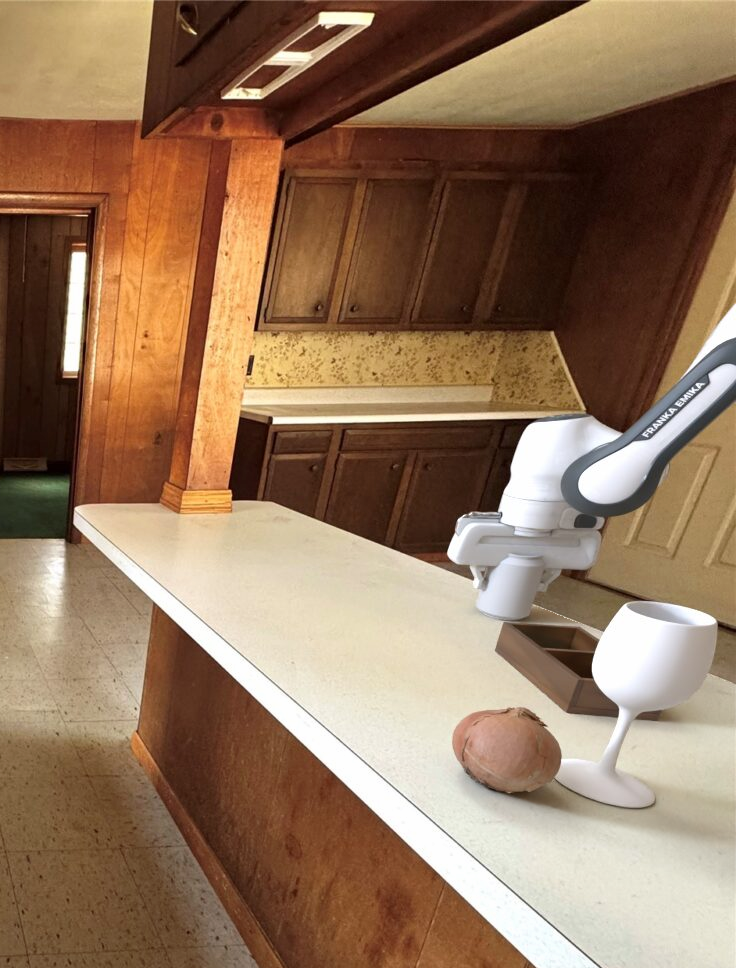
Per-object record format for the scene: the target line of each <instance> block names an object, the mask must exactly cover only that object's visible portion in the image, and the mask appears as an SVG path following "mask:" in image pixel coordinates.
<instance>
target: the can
mask: <svg viewBox="0 0 736 968" xmlns="http://www.w3.org/2000/svg"><path fill="white" fill-rule="evenodd" d="M508 555H509V557H508V558H507V559H505V560H503V561H501V563H500V565H499V566H486V568H485V571H484V574H483V577H484V578H485V579H487V580H489V583H488V585H487V589H479V590H478V591H479V592H478V596H477V598H476V602H475V608H477V609H478V611H479V613H481V614H482V615H484V616H486V617H489V618H492V619H497V620H502V621H512V622H513V621H520V620H522V619H523V618H527V617H529V616H530V614H531V611H532V607H533V605H534V602H535V599H536V597H537V593H538V592H537V590H538V587H539V583H540V580H541V577H542V576H543V575H544V572H545V570H544V568H545V563H544V561H543V560H542V559H541V557H542V556H543V555H539V556H522V555H515V554H508Z"/></svg>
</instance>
